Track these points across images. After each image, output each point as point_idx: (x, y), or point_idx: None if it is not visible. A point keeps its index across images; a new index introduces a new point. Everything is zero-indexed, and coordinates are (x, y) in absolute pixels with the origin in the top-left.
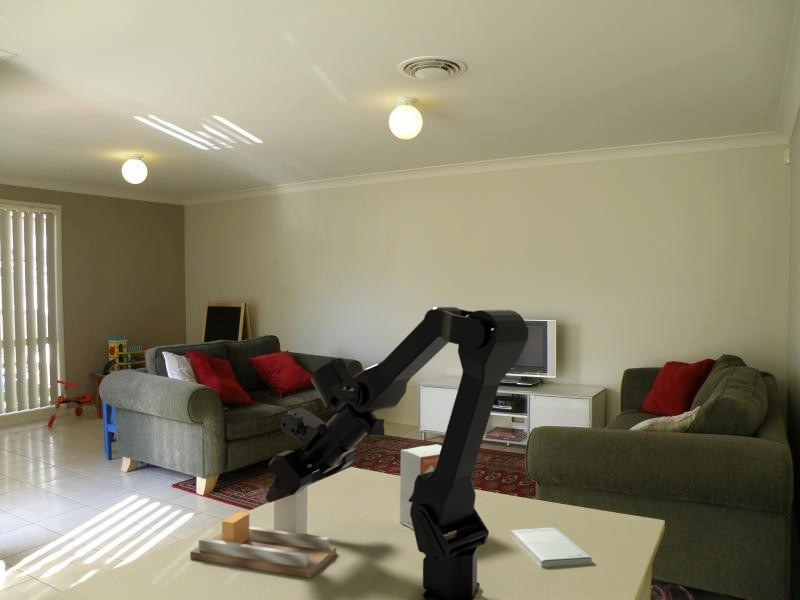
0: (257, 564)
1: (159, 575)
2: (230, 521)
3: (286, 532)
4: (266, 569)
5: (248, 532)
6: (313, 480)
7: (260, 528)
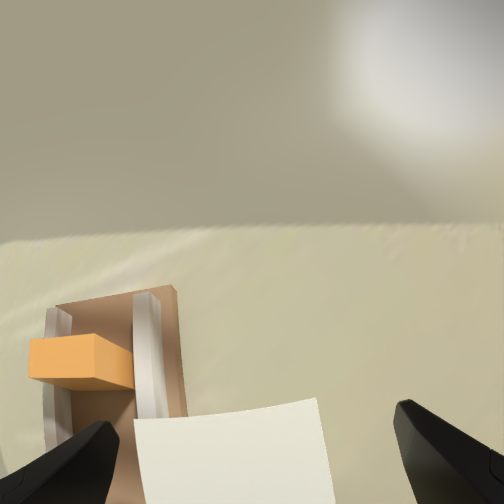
0: None
1: (13, 312)
2: (33, 362)
3: None
4: None
5: (123, 387)
6: (418, 502)
7: (150, 409)
